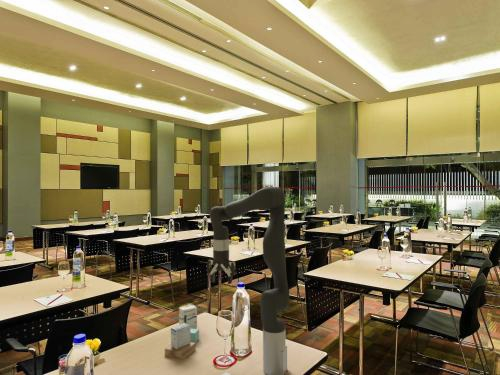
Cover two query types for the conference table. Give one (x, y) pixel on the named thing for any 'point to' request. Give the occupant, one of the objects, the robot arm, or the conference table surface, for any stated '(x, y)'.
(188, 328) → the medicine box
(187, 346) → the walnut slab
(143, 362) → the conference table surface
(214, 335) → the conference table surface
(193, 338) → the teal cube
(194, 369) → the conference table surface
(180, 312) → the ink box
